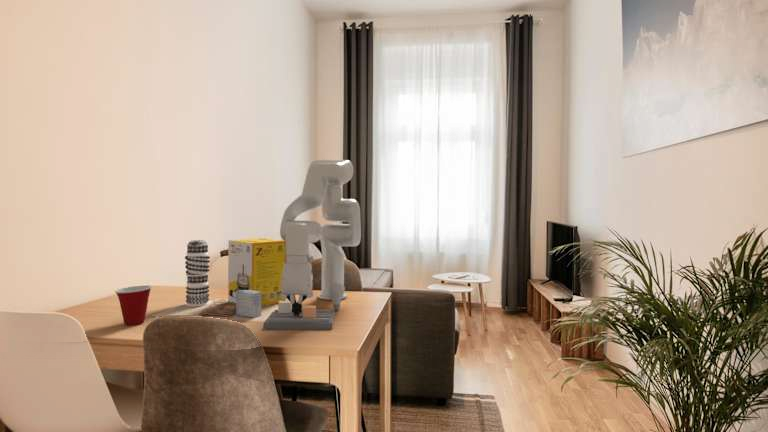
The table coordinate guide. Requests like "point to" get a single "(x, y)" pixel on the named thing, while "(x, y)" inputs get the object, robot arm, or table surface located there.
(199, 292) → the decorative candle
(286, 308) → the off-white block
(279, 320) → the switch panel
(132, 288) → the plastic cup
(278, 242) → the packaging box
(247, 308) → the medicine box
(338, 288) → the lightbulb
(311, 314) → the orange cube
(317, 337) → the table surface
